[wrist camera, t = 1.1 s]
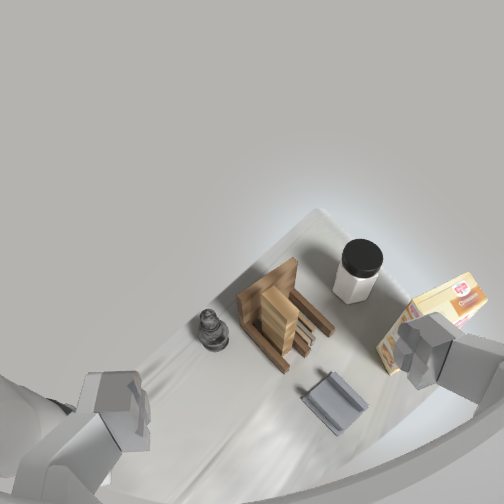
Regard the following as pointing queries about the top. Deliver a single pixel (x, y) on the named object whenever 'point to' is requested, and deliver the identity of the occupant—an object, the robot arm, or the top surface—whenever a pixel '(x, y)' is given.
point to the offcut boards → (305, 330)
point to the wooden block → (278, 320)
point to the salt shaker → (212, 331)
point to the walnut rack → (285, 284)
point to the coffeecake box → (436, 300)
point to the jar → (357, 270)
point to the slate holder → (335, 403)
